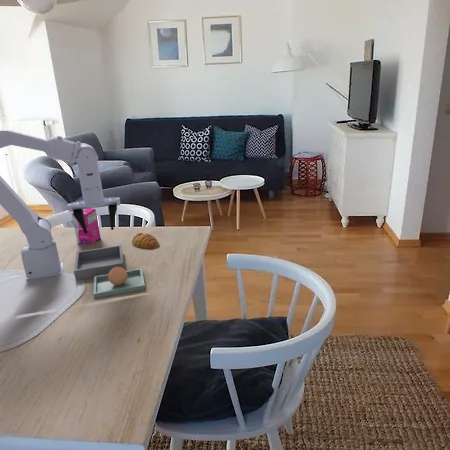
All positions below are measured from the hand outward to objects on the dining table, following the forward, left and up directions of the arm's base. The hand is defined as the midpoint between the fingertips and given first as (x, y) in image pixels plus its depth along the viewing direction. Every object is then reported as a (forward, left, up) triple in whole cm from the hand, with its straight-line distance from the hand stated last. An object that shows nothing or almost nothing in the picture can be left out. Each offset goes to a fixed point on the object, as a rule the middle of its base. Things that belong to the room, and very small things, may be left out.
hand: (99, 230), depth 123 cm
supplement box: (-5, +17, -10) cm, 20 cm away
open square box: (-1, -5, -10) cm, 11 cm away
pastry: (+13, +7, -10) cm, 18 cm away
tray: (+4, -19, -10) cm, 21 cm away
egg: (+4, -18, -9) cm, 21 cm away
